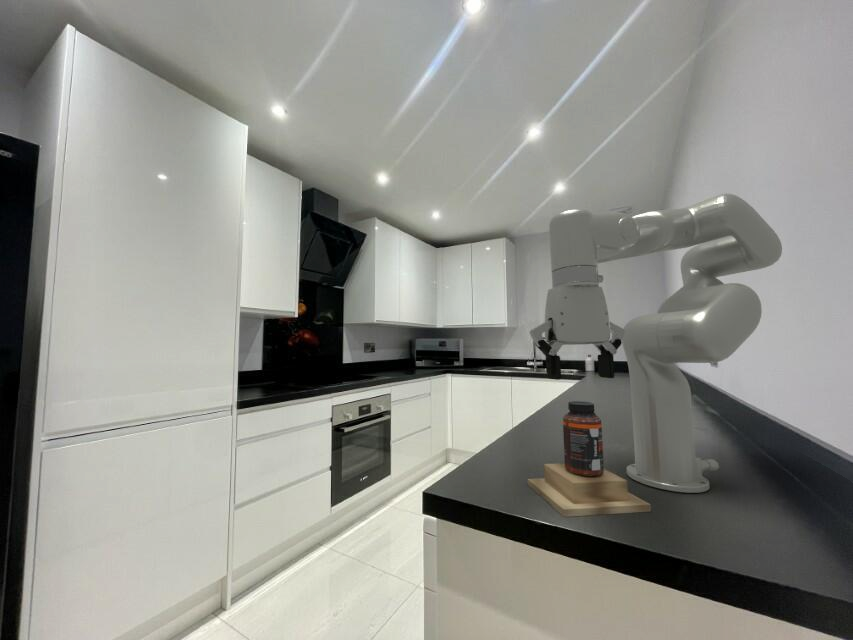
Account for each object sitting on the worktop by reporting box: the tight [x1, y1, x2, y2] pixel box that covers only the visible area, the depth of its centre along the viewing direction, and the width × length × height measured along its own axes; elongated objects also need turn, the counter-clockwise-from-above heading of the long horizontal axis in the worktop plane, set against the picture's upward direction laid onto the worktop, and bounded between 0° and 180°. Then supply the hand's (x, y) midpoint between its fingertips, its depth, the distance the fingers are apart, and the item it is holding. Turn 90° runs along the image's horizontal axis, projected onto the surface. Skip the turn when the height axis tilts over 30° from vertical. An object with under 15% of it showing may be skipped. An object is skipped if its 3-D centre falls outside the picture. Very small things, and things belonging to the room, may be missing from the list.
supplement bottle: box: [562, 400, 605, 476], centre depth 55 cm, size 6×6×11 cm
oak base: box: [527, 462, 652, 518], centre depth 54 cm, size 14×12×4 cm
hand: (580, 378), depth 57 cm, fingers open, 9 cm apart
